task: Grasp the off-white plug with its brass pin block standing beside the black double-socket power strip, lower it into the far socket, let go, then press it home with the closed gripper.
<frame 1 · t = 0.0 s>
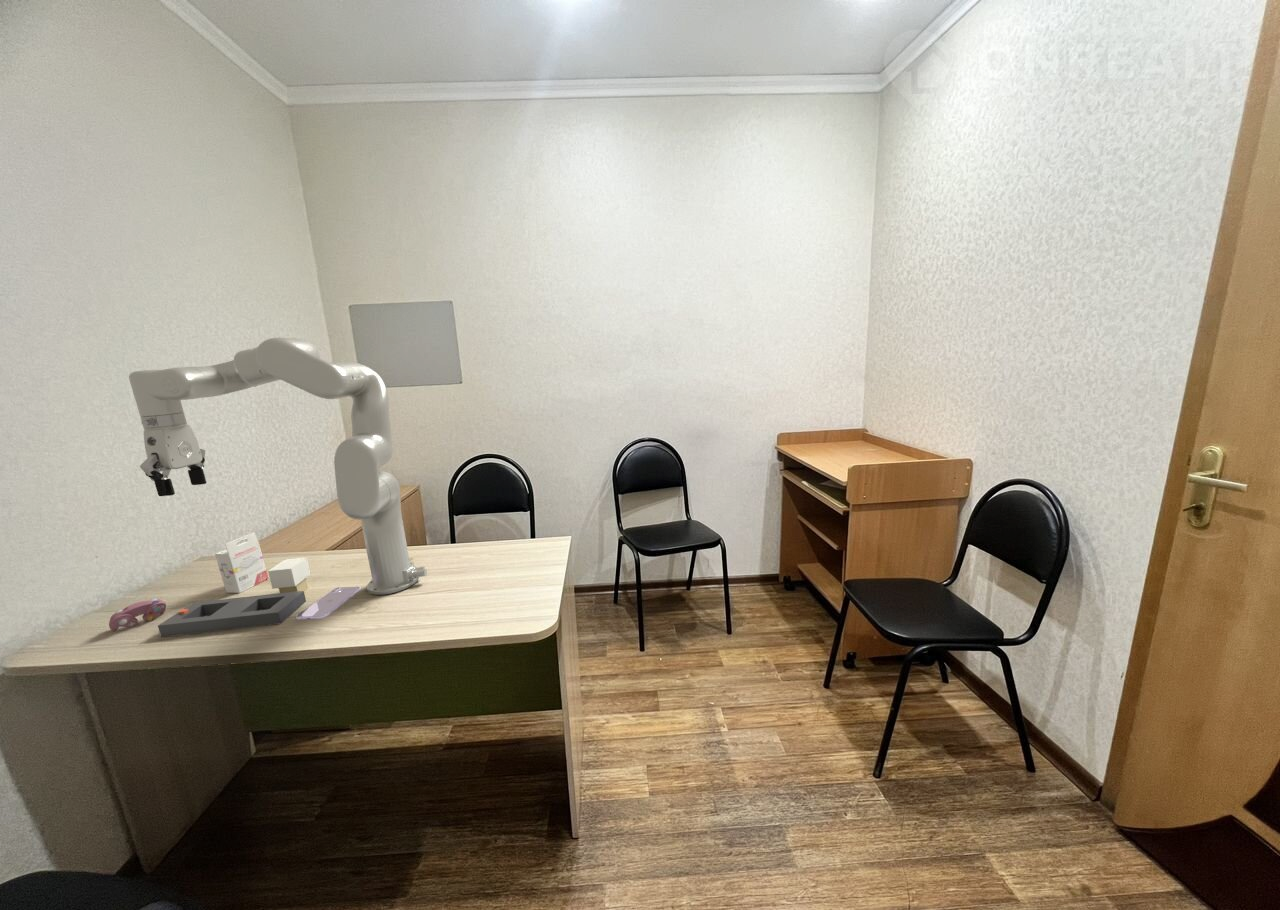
hand: (183, 489, 117), 31 cm above the table, tool pointing down, fingers open, 9 cm apart
mobile phone: (330, 604, 120), on the table
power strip: (237, 618, 115), on the table
ink cartridge box: (247, 586, 132), on the table
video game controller: (141, 624, 115), on the table
plug: (294, 592, 126), on the table
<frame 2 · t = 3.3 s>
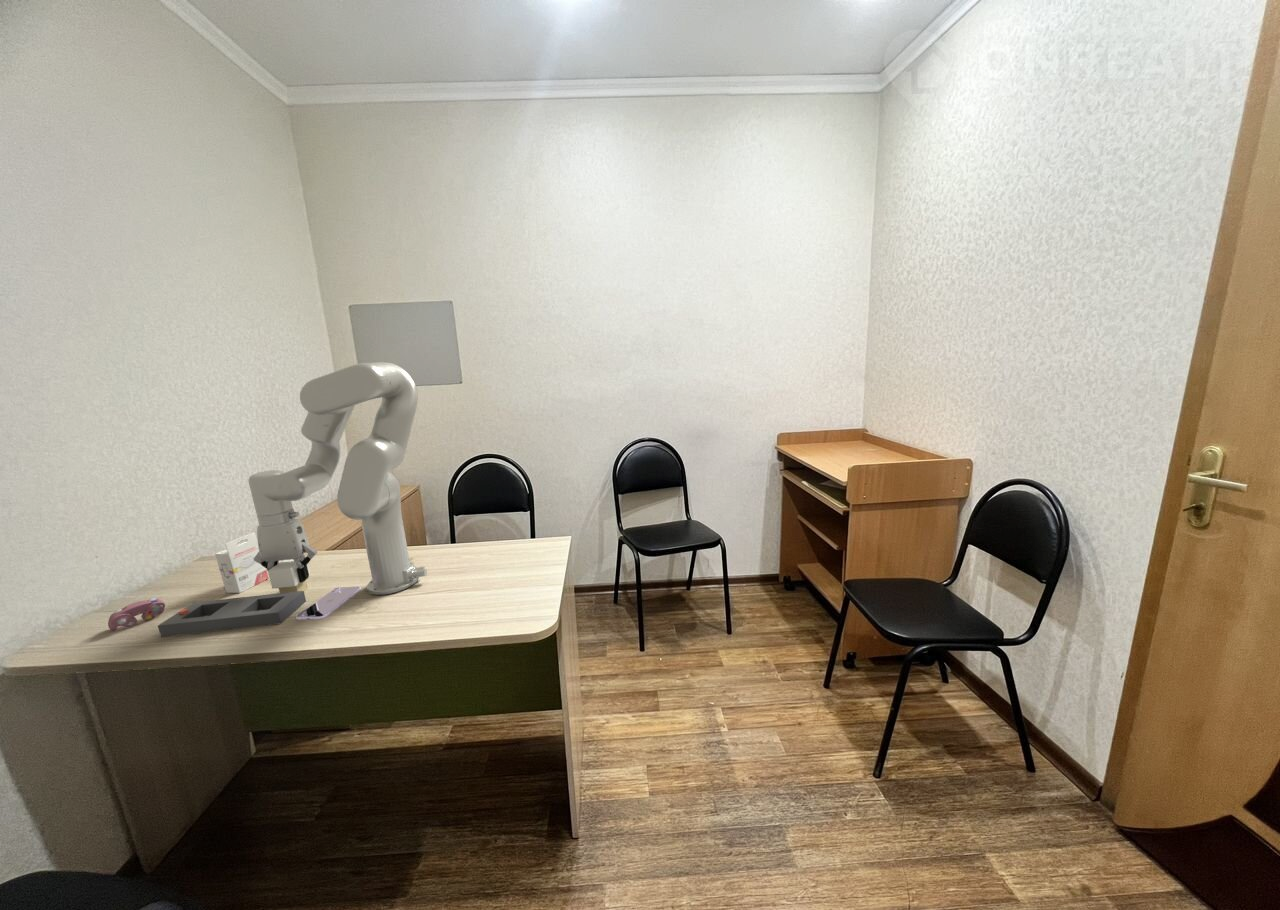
hand: (291, 580, 126), 4 cm above the table, tool pointing down, fingers closed on plug, 5 cm apart
plug: (294, 592, 126), on the table, touching gripper
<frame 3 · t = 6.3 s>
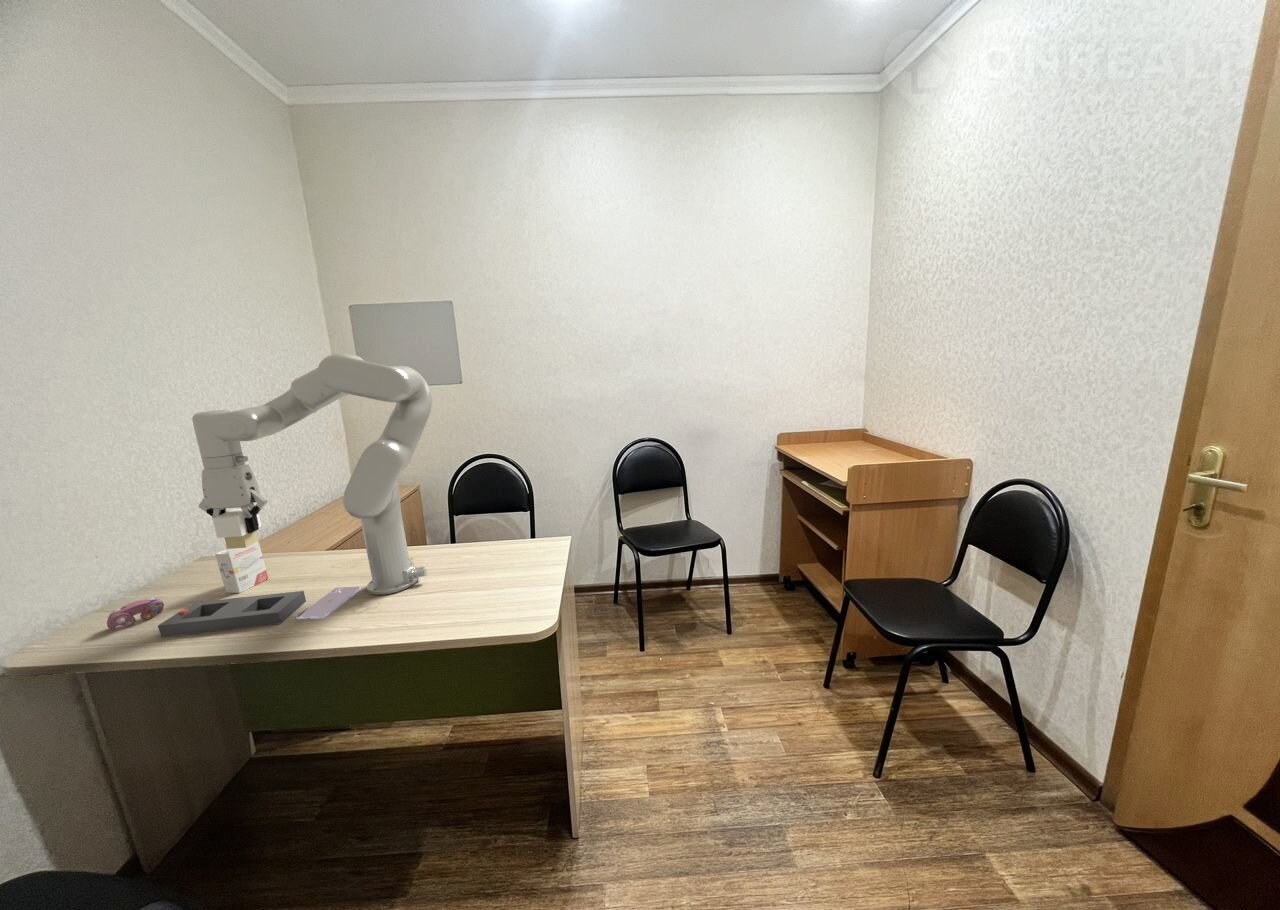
hand: (239, 531, 117), 20 cm above the table, tool pointing down, fingers closed on plug, 5 cm apart
plug: (243, 544, 118), point 17 cm above the table, touching gripper
when the fingers open (4 cm above the table, at t = 9.6 s): plug stays where it is, resting in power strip.
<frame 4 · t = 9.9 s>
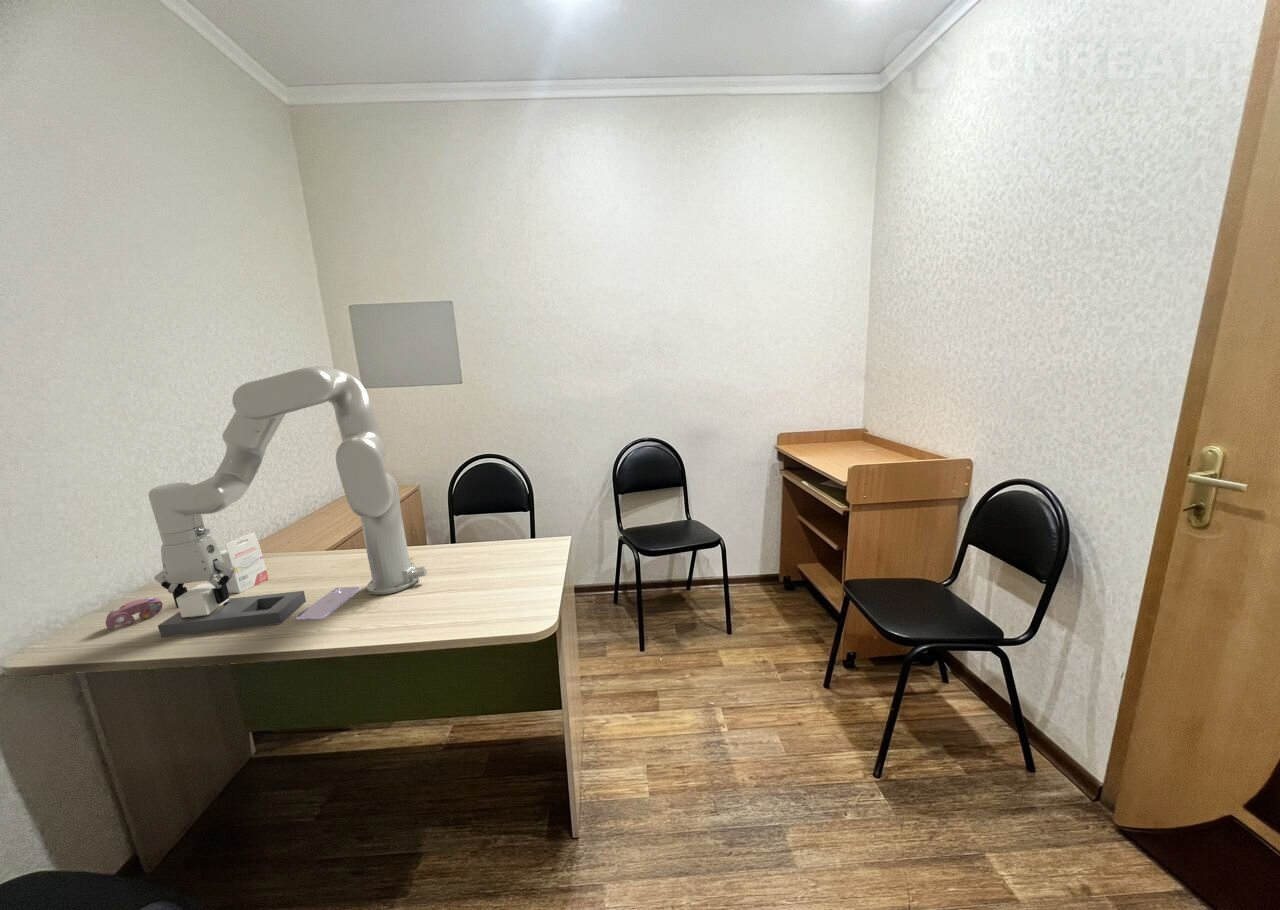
hand: (203, 602, 113), 5 cm above the table, tool pointing down, fingers open, 8 cm apart
plug: (209, 621, 114), resting in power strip
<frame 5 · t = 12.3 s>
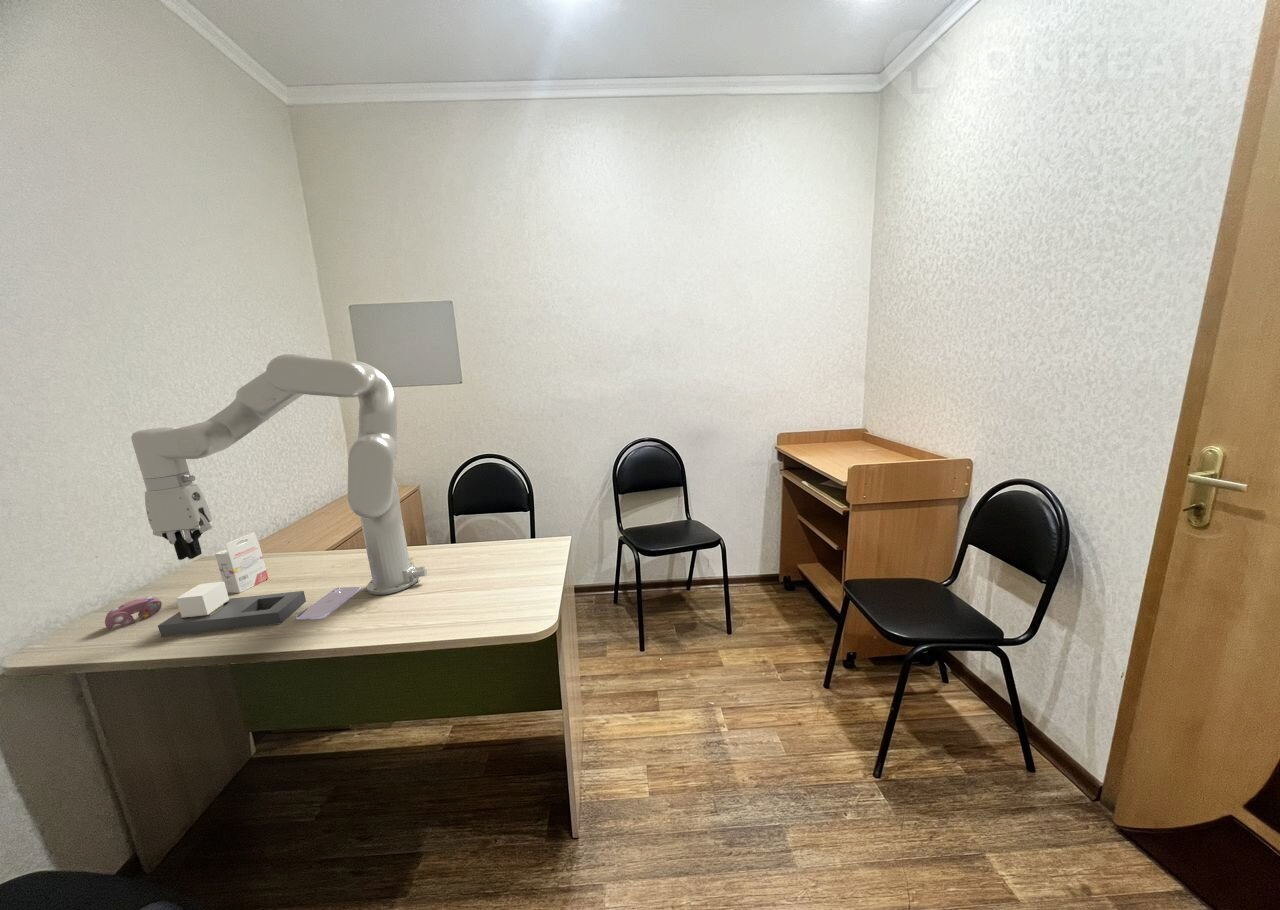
hand: (190, 556, 111), 17 cm above the table, tool pointing down, fingers closed
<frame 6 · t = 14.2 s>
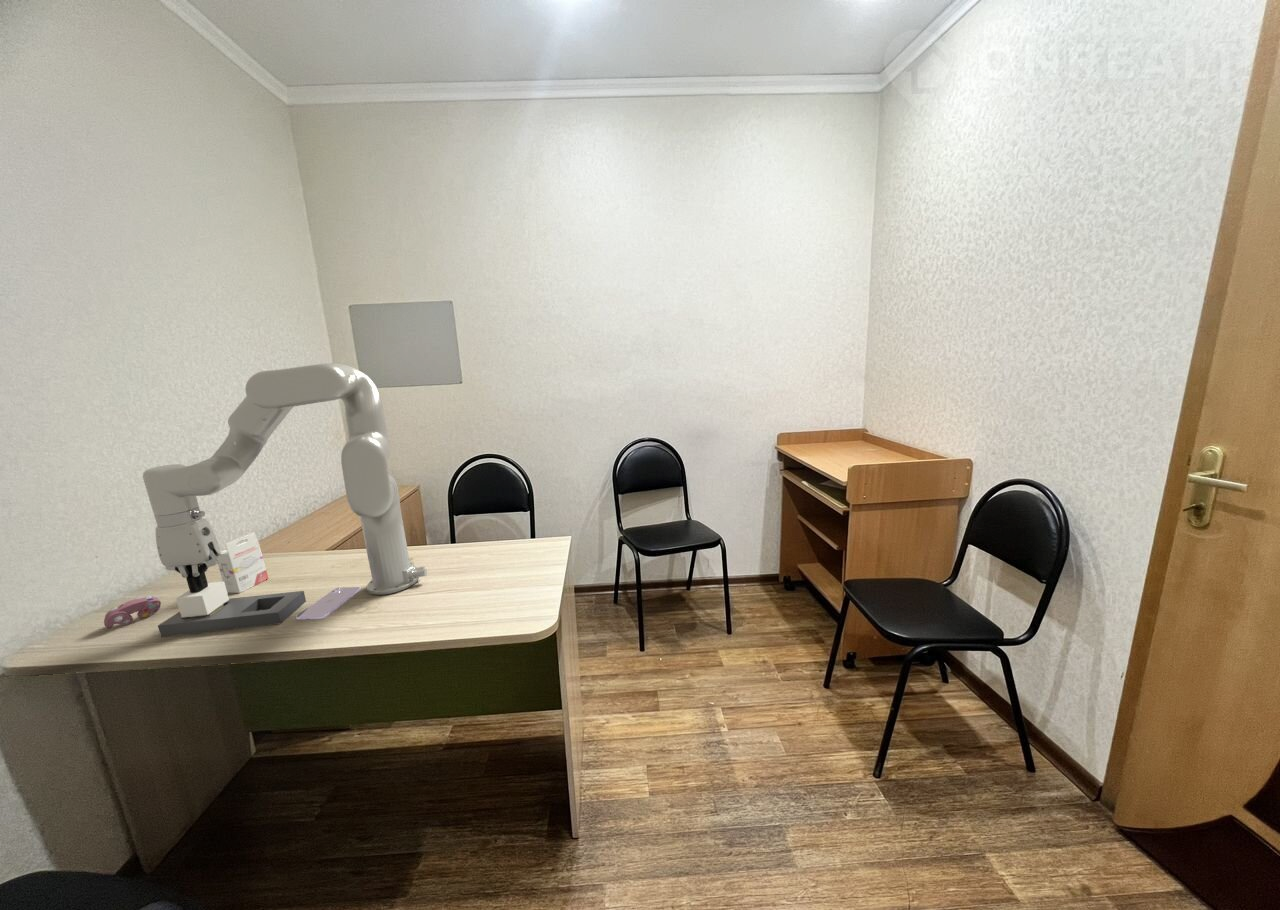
hand: (199, 589, 112), 9 cm above the table, tool pointing down, fingers closed
plug: (209, 621, 114), resting in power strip, touching gripper
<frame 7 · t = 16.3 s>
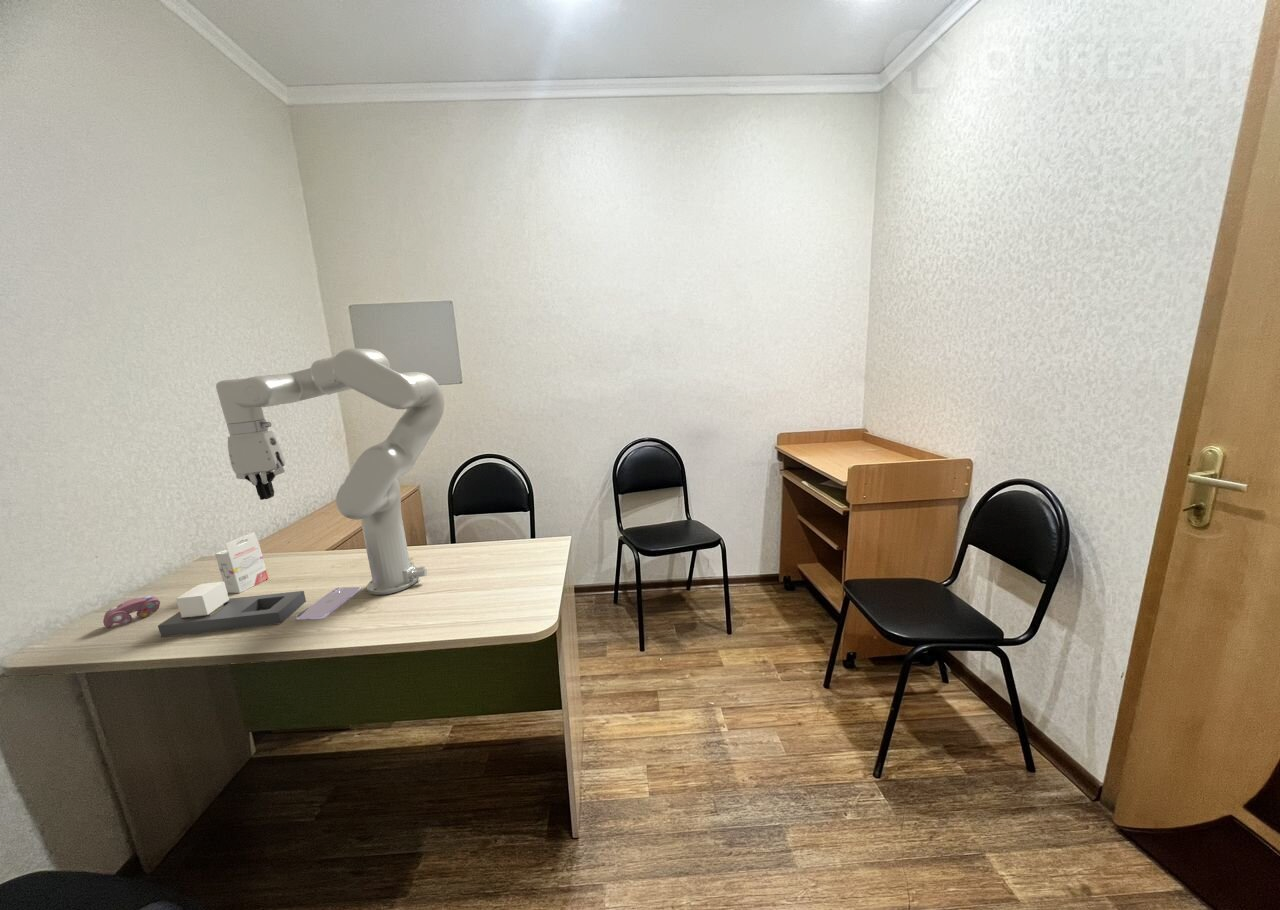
hand: (267, 497, 122), 27 cm above the table, tool pointing down, fingers closed
plug: (209, 621, 114), resting in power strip
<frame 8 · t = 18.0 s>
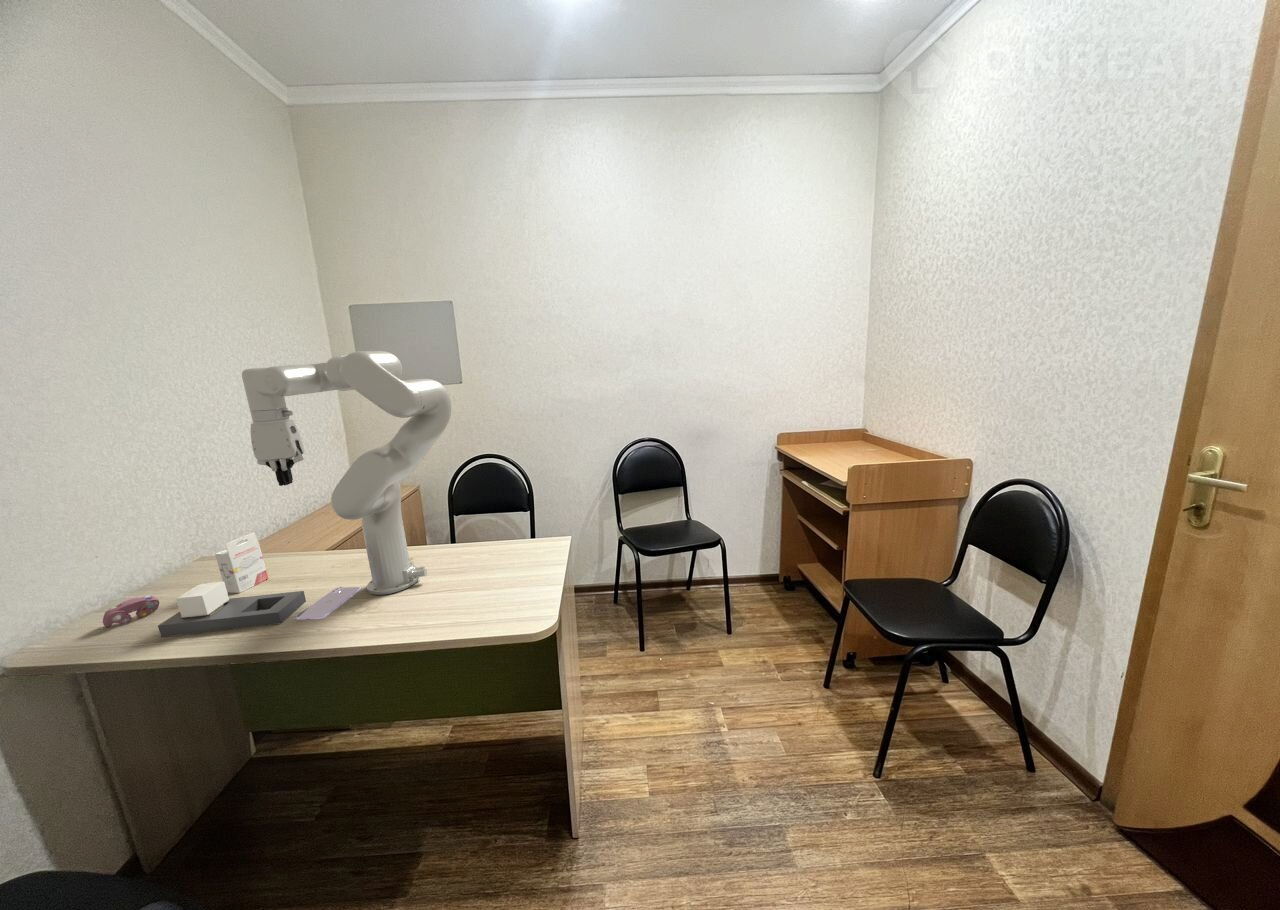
hand: (286, 484, 125), 29 cm above the table, tool pointing down, fingers closed
at the end: plug 0.2 cm from the target spot on the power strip, point 0.0 cm above the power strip's base; plug tilted 0°; the gripper is holding nothing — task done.
